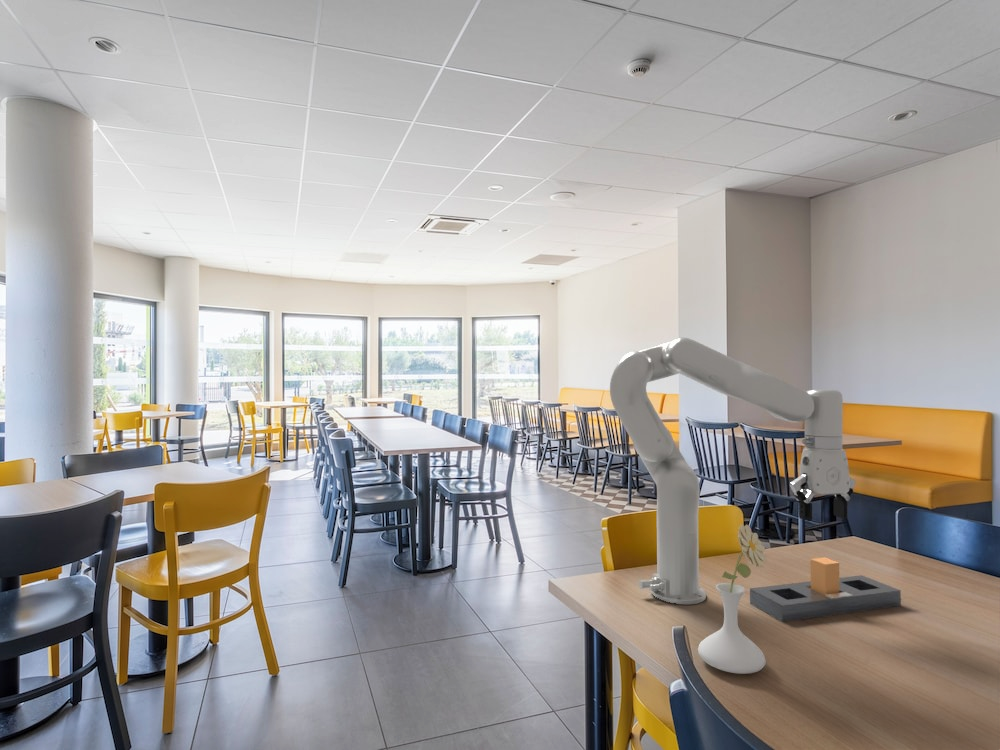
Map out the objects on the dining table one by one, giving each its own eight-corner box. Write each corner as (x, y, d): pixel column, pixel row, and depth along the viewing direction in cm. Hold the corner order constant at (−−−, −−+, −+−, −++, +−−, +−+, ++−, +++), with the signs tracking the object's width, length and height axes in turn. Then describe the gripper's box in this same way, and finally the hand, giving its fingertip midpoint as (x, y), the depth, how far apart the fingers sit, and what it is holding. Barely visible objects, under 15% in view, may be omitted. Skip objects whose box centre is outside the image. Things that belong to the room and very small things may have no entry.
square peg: (825, 609, 125) (825, 564, 125) (810, 602, 128) (810, 559, 129) (839, 607, 126) (839, 562, 126) (824, 600, 130) (824, 557, 130)
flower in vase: (732, 687, 93) (731, 538, 94) (684, 656, 104) (683, 522, 104) (787, 670, 99) (786, 529, 99) (736, 642, 109) (735, 515, 109)
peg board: (782, 622, 118) (782, 604, 118) (750, 603, 128) (749, 587, 128) (900, 605, 126) (900, 589, 126) (861, 589, 136) (861, 574, 136)
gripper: (804, 446, 122) (804, 524, 121) (868, 444, 126) (868, 520, 126) (779, 442, 129) (779, 516, 129) (840, 440, 133) (839, 512, 133)
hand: (823, 518), depth 127 cm, fingers open, 9 cm apart
